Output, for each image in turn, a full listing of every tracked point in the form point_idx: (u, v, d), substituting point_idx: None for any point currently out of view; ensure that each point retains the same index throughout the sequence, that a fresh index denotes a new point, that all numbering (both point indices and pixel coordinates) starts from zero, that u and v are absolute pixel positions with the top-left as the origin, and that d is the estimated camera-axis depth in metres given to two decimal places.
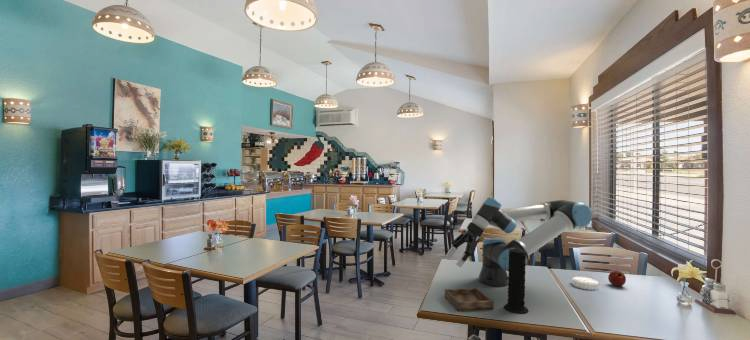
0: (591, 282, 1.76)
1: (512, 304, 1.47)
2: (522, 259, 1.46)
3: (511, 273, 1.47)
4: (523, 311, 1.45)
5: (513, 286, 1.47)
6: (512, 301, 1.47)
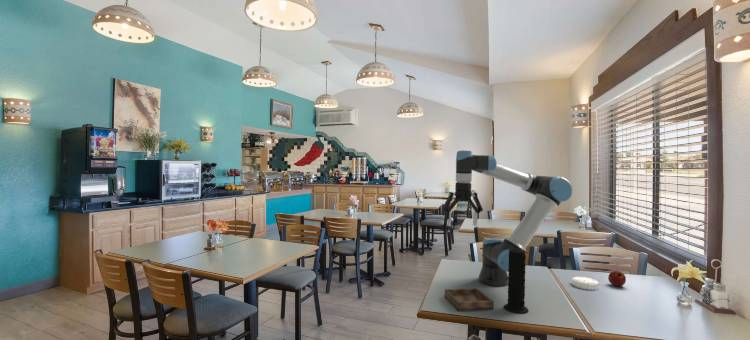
0: (591, 282, 1.76)
1: (512, 304, 1.47)
2: (522, 259, 1.46)
3: (511, 273, 1.47)
4: (523, 311, 1.45)
5: (513, 286, 1.47)
6: (512, 301, 1.47)
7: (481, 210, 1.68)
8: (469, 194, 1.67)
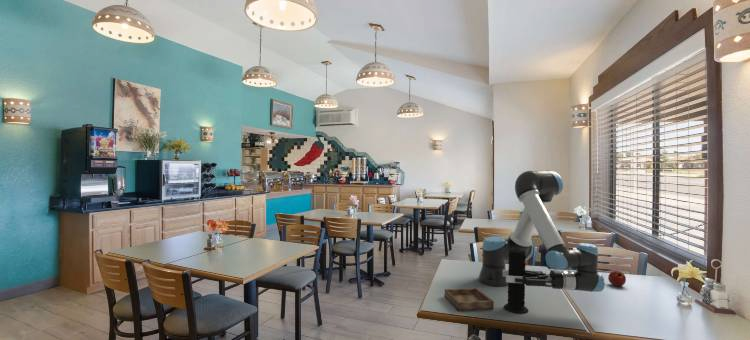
0: None
1: (512, 304, 1.47)
2: (522, 259, 1.46)
3: (511, 273, 1.47)
4: (523, 311, 1.45)
5: (513, 286, 1.47)
6: (512, 301, 1.47)
7: None
8: None
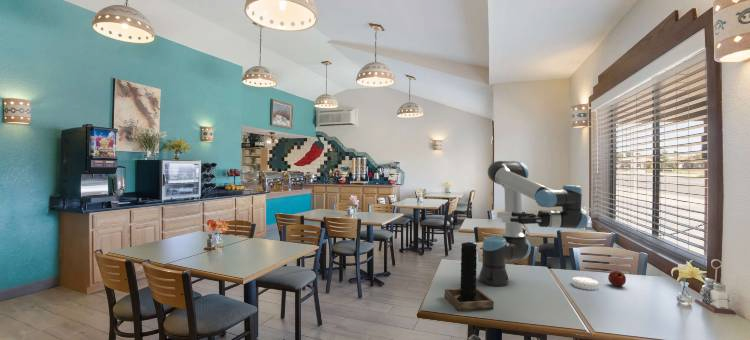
0: (591, 282, 1.76)
1: (464, 296, 1.53)
2: (473, 252, 1.52)
3: (463, 266, 1.53)
4: None
5: (464, 278, 1.52)
6: (464, 293, 1.53)
7: None
8: None
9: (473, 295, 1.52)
